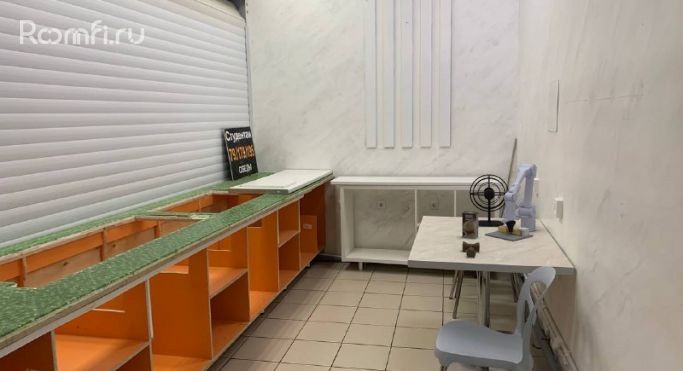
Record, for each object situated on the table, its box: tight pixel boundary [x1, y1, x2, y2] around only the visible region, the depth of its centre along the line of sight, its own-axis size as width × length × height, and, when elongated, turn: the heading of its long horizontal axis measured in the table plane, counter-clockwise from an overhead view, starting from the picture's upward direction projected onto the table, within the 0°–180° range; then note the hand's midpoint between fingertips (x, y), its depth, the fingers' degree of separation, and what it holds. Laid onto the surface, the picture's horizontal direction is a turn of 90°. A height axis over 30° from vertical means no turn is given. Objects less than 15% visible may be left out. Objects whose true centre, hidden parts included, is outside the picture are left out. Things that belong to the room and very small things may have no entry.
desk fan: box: [469, 173, 509, 227], centre depth 351 cm, size 27×18×35 cm, turn 75°
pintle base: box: [484, 224, 534, 242], centre depth 317 cm, size 19×22×5 cm
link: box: [497, 226, 522, 235], centre depth 320 cm, size 16×6×3 cm, turn 30°
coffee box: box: [461, 211, 479, 240], centre depth 318 cm, size 9×6×16 cm
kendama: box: [461, 240, 481, 258], centre depth 282 cm, size 6×10×20 cm
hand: (510, 232), depth 318 cm, fingers closed
